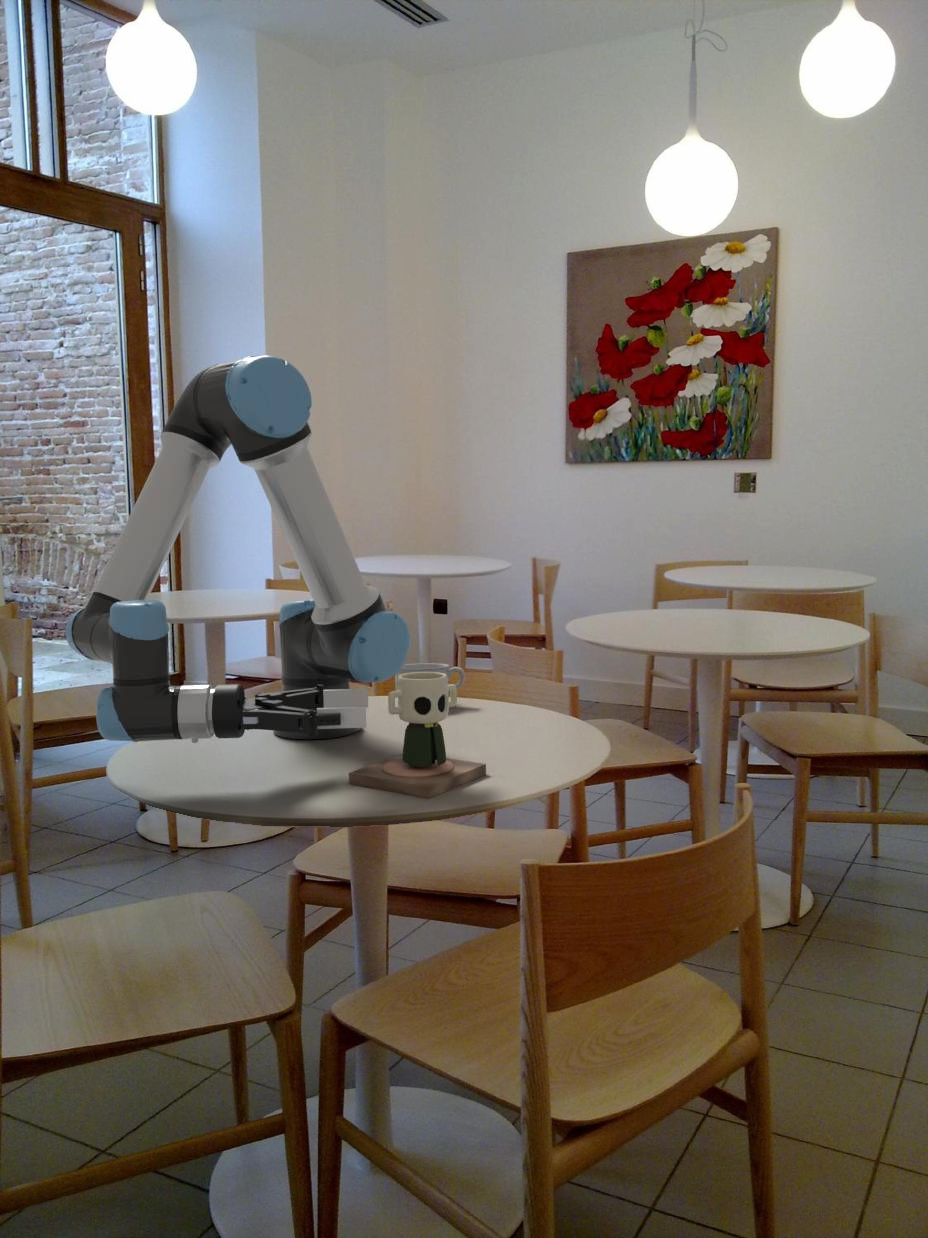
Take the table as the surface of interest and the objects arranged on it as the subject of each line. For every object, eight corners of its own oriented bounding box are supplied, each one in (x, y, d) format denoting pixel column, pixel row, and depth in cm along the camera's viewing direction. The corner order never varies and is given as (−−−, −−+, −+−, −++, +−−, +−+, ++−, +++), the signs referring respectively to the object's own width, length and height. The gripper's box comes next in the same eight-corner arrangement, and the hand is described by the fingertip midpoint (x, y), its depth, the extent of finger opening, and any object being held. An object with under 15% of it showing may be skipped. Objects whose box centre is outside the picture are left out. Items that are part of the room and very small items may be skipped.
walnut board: (409, 761, 153) (408, 749, 153) (486, 774, 145) (485, 761, 145) (348, 783, 142) (348, 770, 141) (429, 798, 134) (428, 784, 134)
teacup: (385, 708, 194) (384, 667, 193) (409, 698, 204) (408, 659, 203) (452, 713, 189) (451, 671, 188) (473, 702, 199) (472, 662, 198)
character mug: (401, 776, 138) (399, 683, 136) (379, 765, 144) (377, 675, 142) (470, 765, 143) (468, 675, 142) (445, 755, 149) (444, 668, 148)
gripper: (229, 719, 153) (369, 715, 154) (199, 760, 128) (365, 754, 130) (227, 670, 152) (368, 666, 154) (196, 702, 127) (364, 697, 129)
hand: (367, 707), depth 142 cm, fingers open, 13 cm apart
